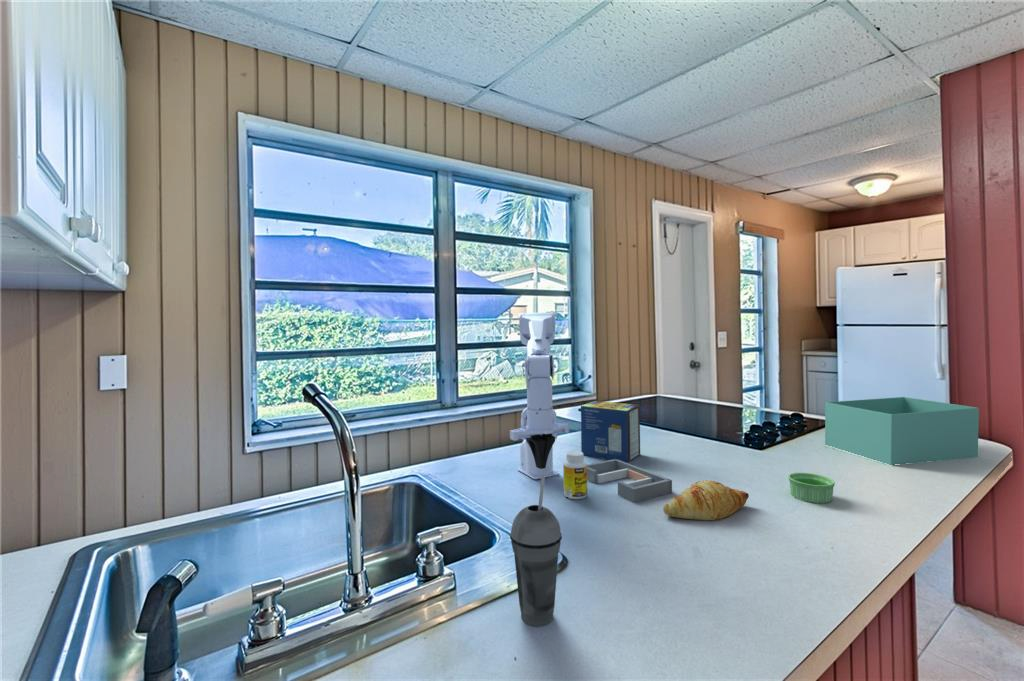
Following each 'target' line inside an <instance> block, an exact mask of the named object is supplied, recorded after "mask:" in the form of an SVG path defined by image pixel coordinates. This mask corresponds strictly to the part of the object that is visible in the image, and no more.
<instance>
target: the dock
mask: <svg viewBox="0 0 1024 681" xmlns="http://www.w3.org/2000/svg"><path fill="white" fill-rule="evenodd" d="M624 478H629V479H630V480H632V481H628V482H623V481H618V482H617V495H618V496H619V497H621V498H624V499H626V500H628V501H630V502H632V503H636V502H637V503H638V502H639V501H640V502H641V501H644V500H648V499H652V498H655V497H660V496H663V495H667V494H671V493H673V480H672V479H671V478H667V477H665V476H662V475H661V474H657V473H654V472H652V471H650V470H647V469H644V468H641V467H639V466H636V465H633V464H630V463H629V462H628V463H626V462H623V461H621V460H618V459H613V460H608V459H607V460H604V461H599V462H594V463H589V464H588V463H587V482H588V481H589V482H590V483H593V484H596V483H598V484H602V483H608V482H612V481H616V480H619V479H620V480H621V479H624Z"/></svg>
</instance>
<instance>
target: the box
mask: <svg viewBox="0 0 1024 681" xmlns="http://www.w3.org/2000/svg"><path fill="white" fill-rule="evenodd" d="M824 405H825V406H824V408H825V410H824V411H825V413H824V414H825V415H824V417H825V418H824V419H825V420H824V424H825V427H824V428H825V429H824V432H825V433H824V446H825V445H828V446H832V447H835V448H838V449H841V450H845V451H848V452H851V453H854V454H857V455H861V456H864V457H867V458H870V459H873V460H877V461H880V462H883V463H887V464H889V465H895V464H906V463H915V464H918V463H917V462H924V463H928V462H927V461H933V462H938V461H937V460H942V461H949V460H950V461H951V460H956V459H957V460H960V459H968V458H976V457H979V426H980V425H979V424H980V423H979V422H980V420H979V419H980V414H979V412H980V408H979V407H974V406H969V405H963V404H962V405H961V404H954V403H949V402H943V401H941V402H940V401H936V400H935V401H933V400H928V399H927V400H926V399H921V398H915V397H907V396H899V397H884V398H882V397H881V398H871V399H870V398H869V399H852V400H840V401H839V400H837V401H826V402H825V403H824ZM883 463H882V464H883ZM889 465H888V466H889ZM906 465H907V464H906Z"/></svg>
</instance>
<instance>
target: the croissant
mask: <svg viewBox="0 0 1024 681" xmlns="http://www.w3.org/2000/svg"><path fill="white" fill-rule="evenodd" d="M749 496H750V495H749V493H747V492H746V491H744V490H739V489H734V488H730V487H729V486H725V485H724V484H723V483H721V482H718V481H714V480H707V479H706V480H701V481H700V480H698V481H696V482H693V483H692V484H691V485H690V486H689V487H688V488H686V489H684V490H683V491H682V492H681V494H680V495H679V496H676V497H673V498H672V499H671V500H670V501H669V503H668V504H664V505H663V508H662V510H663V512H664V514H665V515H667V516H668V517H672V518H677V519H678V518H679V519H685V520H696V521H697V520H698V521H716V519H719V520H720V519H724V518H726V517H727V518H728V517H729V516H731V515H733V514H734V513H735V512H737V511H738V510H739V509H741V508H742V507H744V506H745V505H746V503H747V501H748V500H749V499H748V498H749Z"/></svg>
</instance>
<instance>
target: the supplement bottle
mask: <svg viewBox="0 0 1024 681" xmlns="http://www.w3.org/2000/svg"><path fill="white" fill-rule="evenodd" d="M584 456H585V455H584V454H583V453H582V452H581V451H579V450H571V451H567V452H566V459H565V460H564V461H563V463H562V464H563V467H562V468H563V495H564V497H566V498H567V497H568V499H571V500H581V499H585V498H586V497H587V495H588V480H587V465H588V463H587V461H585V459H584V458H585V457H584Z"/></svg>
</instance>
